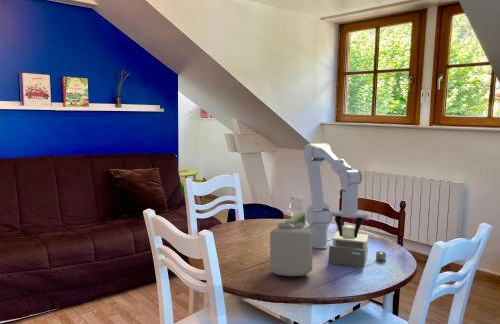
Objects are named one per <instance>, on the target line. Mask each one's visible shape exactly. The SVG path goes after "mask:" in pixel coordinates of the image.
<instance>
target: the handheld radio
mask: <svg viewBox="0 0 500 324" xmlns="http://www.w3.org/2000/svg"><path fill="white" fill-rule="evenodd" d="M284 223H303V227H304V226H306V212H305V211H304V212H302V211H301V212H300V213H298V214H295V215H293V216H291V217H290V218H288V219H286V220H285V222H284Z"/></svg>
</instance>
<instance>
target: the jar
mask: <svg viewBox="0 0 500 324" xmlns="http://www.w3.org/2000/svg"><path fill="white" fill-rule="evenodd" d="M289 205H290V206H289V208H290V209H291V208H292V206H291V205H292V204H291V203H289ZM290 209H289V210H287V212H290ZM290 216H291V217H293V212H291V215H290ZM269 260H270V261H269V264H270V265H269V267H270V270H271V272H272V273H274V274H275V275H278V276H285V277H286V276H287V277H299V276H300V277H301V276H305V275H306V276H307V275H308V274H310V273H311V272H312V270H313V247H312V233H311V231H310V230H308V229H307V228H305V227H304V226H303V223H285V222H279V223H277V227H274V228H273V229H272V230H271V231H270V233H269Z"/></svg>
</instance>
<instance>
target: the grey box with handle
mask: <svg viewBox="0 0 500 324" xmlns="http://www.w3.org/2000/svg"><path fill="white" fill-rule="evenodd" d="M364 258H365V250H364V249H355V248H346V247H338V246H333V245H328V264H335V265H342V266H348V267H349V266H350V267H358V268H364V267H365V260H364Z"/></svg>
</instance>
